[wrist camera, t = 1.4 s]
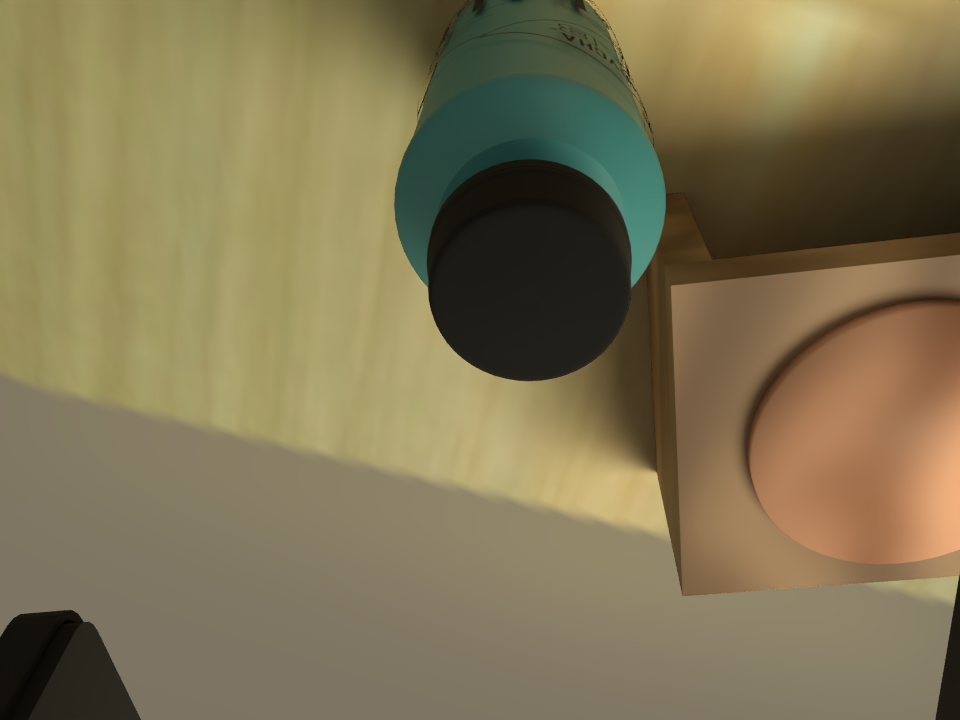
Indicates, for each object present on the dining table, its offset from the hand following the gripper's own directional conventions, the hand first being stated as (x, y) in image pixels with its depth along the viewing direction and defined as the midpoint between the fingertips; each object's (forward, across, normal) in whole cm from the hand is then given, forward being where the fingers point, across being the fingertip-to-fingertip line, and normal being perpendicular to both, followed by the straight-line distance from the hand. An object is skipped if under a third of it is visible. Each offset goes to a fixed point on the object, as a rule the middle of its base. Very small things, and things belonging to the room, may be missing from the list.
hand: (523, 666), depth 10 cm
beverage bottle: (+28, 0, 0) cm, 29 cm away
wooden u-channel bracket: (+28, -12, +13) cm, 33 cm away
